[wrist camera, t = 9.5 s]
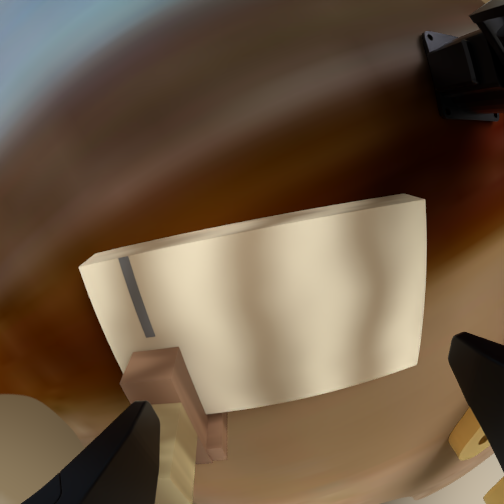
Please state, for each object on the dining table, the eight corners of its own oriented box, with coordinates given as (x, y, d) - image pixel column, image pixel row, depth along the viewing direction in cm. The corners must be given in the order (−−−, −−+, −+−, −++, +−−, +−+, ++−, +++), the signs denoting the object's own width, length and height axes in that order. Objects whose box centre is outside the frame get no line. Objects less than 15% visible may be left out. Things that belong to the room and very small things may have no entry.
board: (404, 193, 18) (425, 199, 15) (402, 346, 21) (417, 364, 19) (95, 253, 18) (78, 267, 15) (153, 396, 21) (147, 418, 19)
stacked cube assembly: (198, 326, 19) (177, 457, 9) (227, 411, 21) (228, 524, 12) (127, 336, 19) (73, 452, 9) (166, 416, 21) (147, 523, 12)
